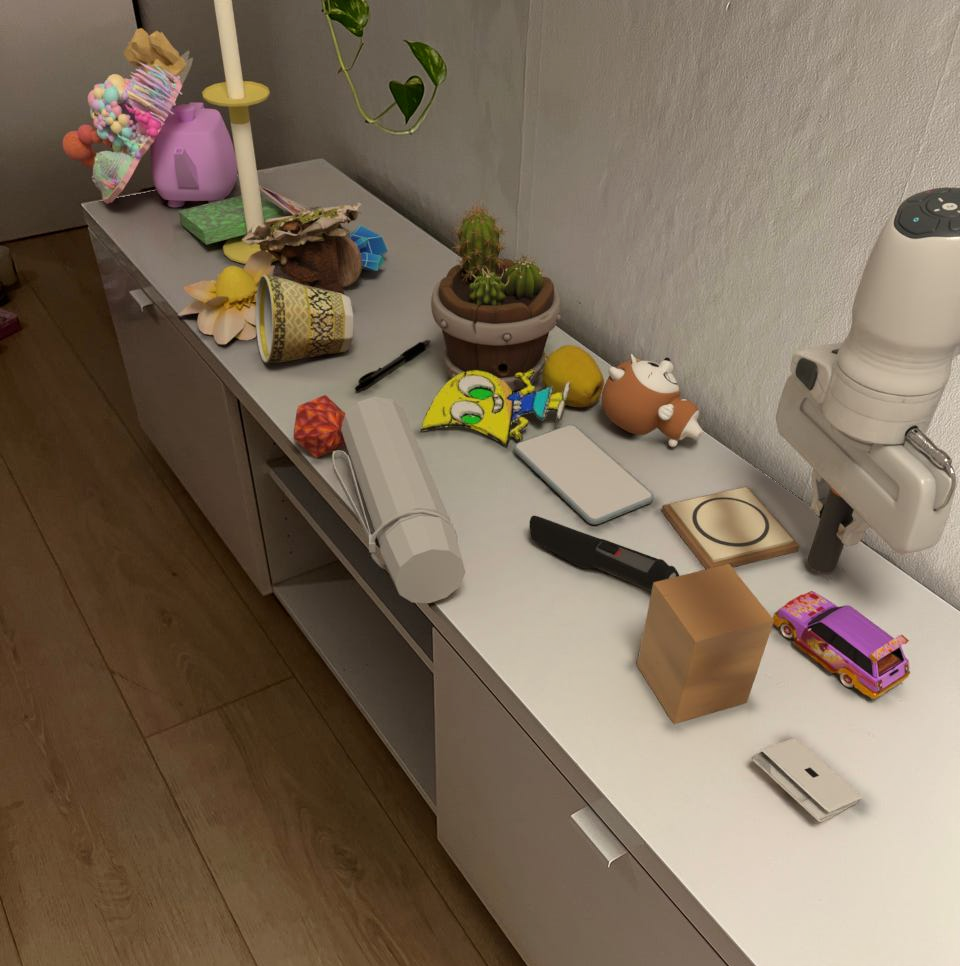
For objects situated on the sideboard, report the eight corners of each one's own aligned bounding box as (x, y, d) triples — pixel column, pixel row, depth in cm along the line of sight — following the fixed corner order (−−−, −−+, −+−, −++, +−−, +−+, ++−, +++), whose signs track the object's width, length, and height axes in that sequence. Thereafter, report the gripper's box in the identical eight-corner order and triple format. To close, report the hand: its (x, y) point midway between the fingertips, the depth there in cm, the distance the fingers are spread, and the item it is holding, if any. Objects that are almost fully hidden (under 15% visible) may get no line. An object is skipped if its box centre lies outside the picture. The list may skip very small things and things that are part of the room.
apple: (598, 385, 109) (538, 346, 110) (577, 428, 114) (520, 390, 115) (622, 360, 113) (565, 323, 114) (601, 402, 118) (546, 366, 119)
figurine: (723, 387, 102) (626, 330, 104) (675, 463, 104) (581, 405, 107) (731, 397, 111) (641, 343, 113) (686, 466, 113) (599, 412, 116)
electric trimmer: (539, 528, 100) (541, 503, 98) (681, 584, 94) (687, 559, 92) (521, 549, 98) (522, 524, 95) (665, 607, 92) (670, 582, 90)
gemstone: (309, 287, 134) (348, 259, 143) (367, 288, 131) (403, 260, 140) (298, 230, 130) (339, 205, 138) (358, 230, 127) (396, 205, 136)
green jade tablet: (254, 191, 149) (258, 208, 150) (177, 211, 144) (182, 228, 146) (282, 209, 141) (286, 227, 142) (202, 230, 137) (207, 248, 138)
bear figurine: (218, 237, 122) (249, 335, 128) (325, 217, 117) (352, 321, 123) (271, 214, 133) (297, 306, 139) (370, 196, 127) (393, 292, 134)
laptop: (745, 767, 79) (755, 750, 78) (787, 748, 82) (798, 731, 81) (813, 832, 75) (825, 814, 74) (855, 809, 78) (867, 792, 77)
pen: (348, 382, 115) (349, 390, 116) (359, 387, 115) (360, 395, 116) (422, 333, 123) (422, 342, 124) (433, 338, 123) (433, 346, 124)
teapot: (168, 170, 159) (152, 84, 150) (247, 171, 160) (235, 85, 151) (147, 223, 146) (127, 132, 136) (232, 224, 146) (219, 132, 137)
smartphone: (592, 522, 99) (510, 444, 108) (591, 529, 100) (510, 451, 108) (657, 496, 102) (573, 422, 111) (656, 503, 103) (572, 429, 111)
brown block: (706, 646, 89) (729, 563, 82) (746, 703, 84) (774, 620, 77) (636, 665, 87) (653, 582, 80) (673, 724, 83) (695, 641, 75)
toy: (550, 454, 107) (419, 427, 110) (551, 457, 108) (420, 431, 111) (573, 373, 110) (443, 349, 112) (572, 377, 111) (444, 353, 113)
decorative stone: (309, 395, 101) (277, 393, 107) (310, 462, 102) (278, 456, 109) (364, 396, 104) (330, 393, 110) (365, 460, 106) (331, 454, 112)
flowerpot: (581, 387, 117) (599, 219, 103) (471, 425, 112) (473, 252, 97) (513, 333, 126) (521, 170, 111) (407, 365, 120) (401, 198, 106)
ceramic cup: (359, 284, 114) (272, 280, 111) (356, 372, 119) (272, 370, 115) (330, 271, 125) (250, 267, 121) (328, 352, 129) (250, 350, 126)
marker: (825, 550, 97) (857, 458, 89) (842, 569, 95) (876, 476, 87) (800, 557, 96) (829, 464, 88) (817, 576, 94) (848, 483, 86)
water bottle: (407, 386, 103) (473, 538, 87) (405, 449, 109) (467, 603, 92) (319, 394, 101) (370, 552, 84) (322, 458, 106) (370, 618, 90)
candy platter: (178, 63, 155) (123, 18, 149) (214, 45, 136) (153, -8, 130) (97, 203, 157) (40, 164, 151) (121, 205, 138) (58, 160, 132)
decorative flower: (329, 299, 127) (309, 337, 136) (275, 226, 126) (258, 269, 135) (234, 349, 120) (219, 385, 129) (177, 271, 119) (166, 313, 128)
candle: (243, 228, 145) (195, -84, 118) (305, 239, 143) (271, -76, 116) (209, 257, 139) (150, -66, 111) (274, 269, 137) (230, -57, 109)
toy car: (805, 602, 93) (818, 565, 90) (909, 681, 86) (928, 645, 83) (763, 626, 91) (775, 589, 87) (867, 709, 84) (884, 673, 81)
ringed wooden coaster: (745, 492, 104) (748, 481, 104) (797, 551, 98) (801, 541, 97) (661, 511, 102) (663, 500, 101) (708, 573, 96) (711, 563, 95)
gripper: (996, 461, 76) (932, 591, 86) (842, 333, 90) (803, 459, 100) (928, 477, 75) (872, 608, 85) (782, 344, 88) (748, 471, 98)
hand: (833, 526), depth 92 cm, fingers closed on marker, 3 cm apart
